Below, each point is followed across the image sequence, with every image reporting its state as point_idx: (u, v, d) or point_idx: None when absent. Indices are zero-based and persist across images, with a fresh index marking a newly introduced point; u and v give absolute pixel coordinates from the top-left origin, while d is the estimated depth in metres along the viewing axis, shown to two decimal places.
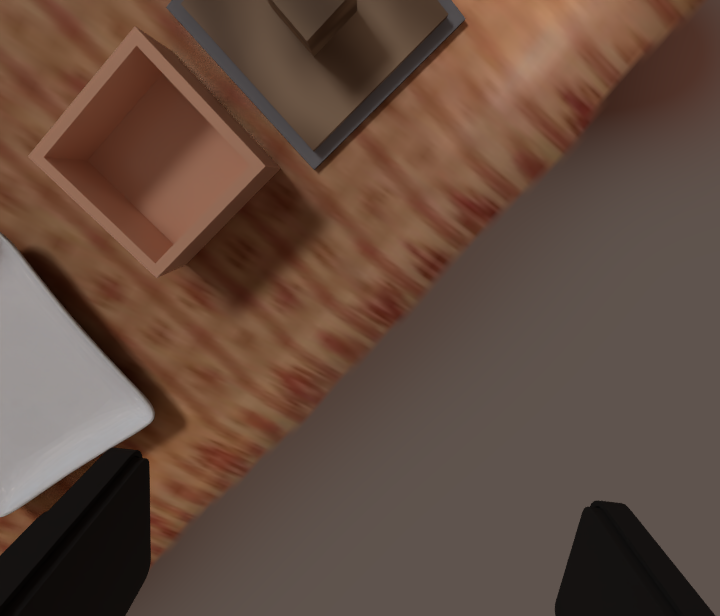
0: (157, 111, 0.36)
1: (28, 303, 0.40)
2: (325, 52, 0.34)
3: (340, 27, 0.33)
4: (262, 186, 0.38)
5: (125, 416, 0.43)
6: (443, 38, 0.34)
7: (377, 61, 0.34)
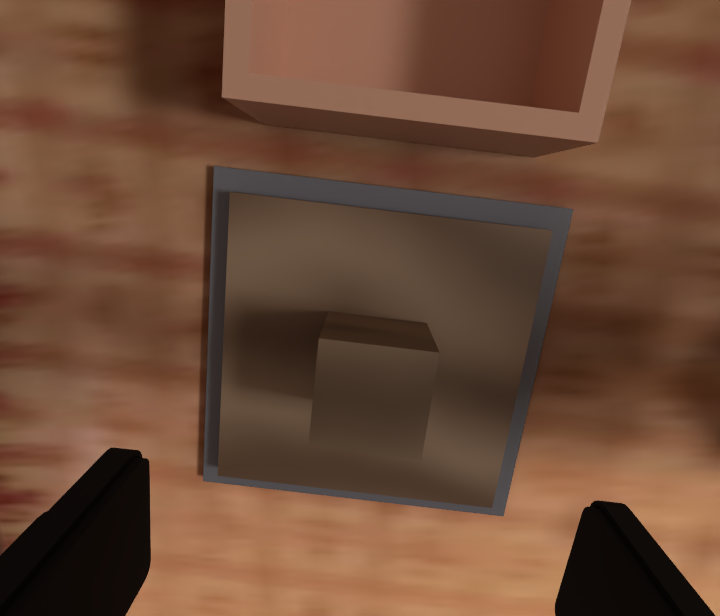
0: (503, 44, 0.18)
1: None
2: (318, 328, 0.21)
3: None
4: None
5: None
6: (206, 446, 0.23)
7: (248, 370, 0.21)
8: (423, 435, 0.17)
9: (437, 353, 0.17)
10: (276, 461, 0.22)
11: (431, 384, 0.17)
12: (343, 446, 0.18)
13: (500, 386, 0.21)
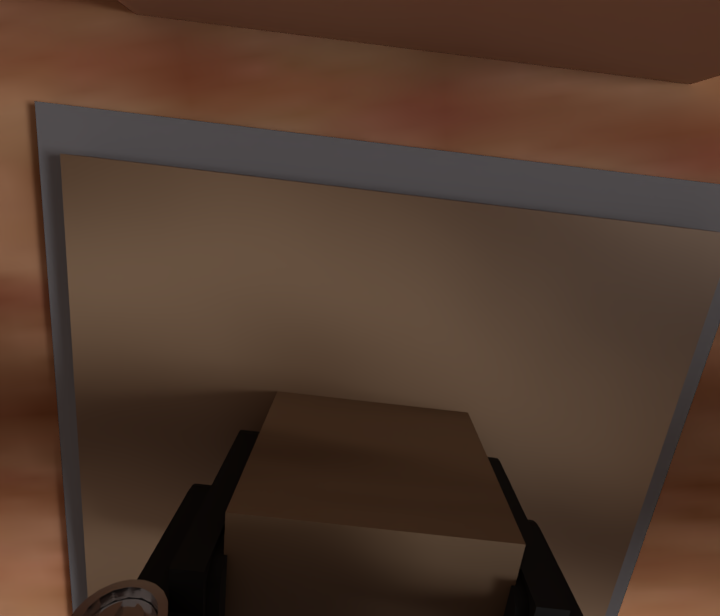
0: None
1: None
2: (259, 422, 0.11)
3: None
4: None
5: None
6: (76, 607, 0.13)
7: (130, 495, 0.11)
8: None
9: (520, 547, 0.07)
10: None
11: (502, 611, 0.07)
12: None
13: (601, 523, 0.11)
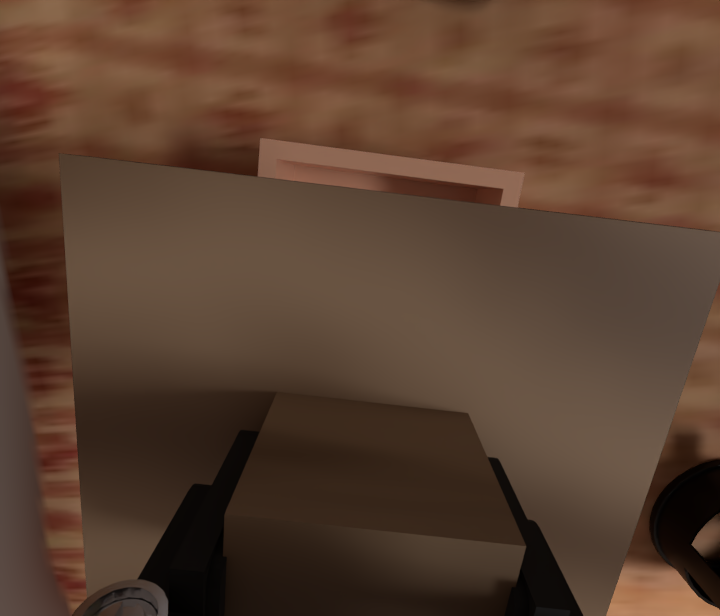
0: None
1: None
2: (258, 422, 0.11)
3: None
4: None
5: None
6: None
7: (129, 496, 0.11)
8: None
9: (521, 548, 0.07)
10: None
11: (502, 613, 0.07)
12: None
13: (602, 524, 0.11)
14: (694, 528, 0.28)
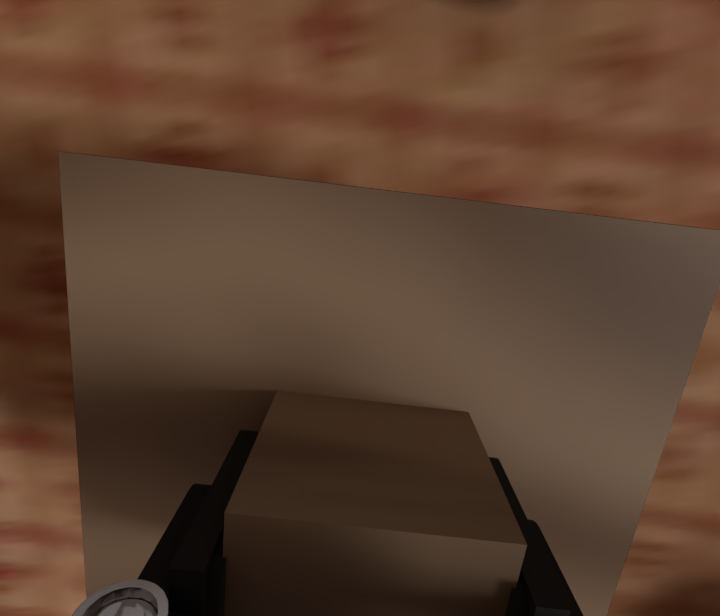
0: None
1: None
2: (258, 421, 0.11)
3: None
4: None
5: None
6: None
7: (129, 495, 0.11)
8: None
9: (522, 547, 0.07)
10: None
11: (503, 612, 0.07)
12: None
13: (603, 523, 0.11)
14: None
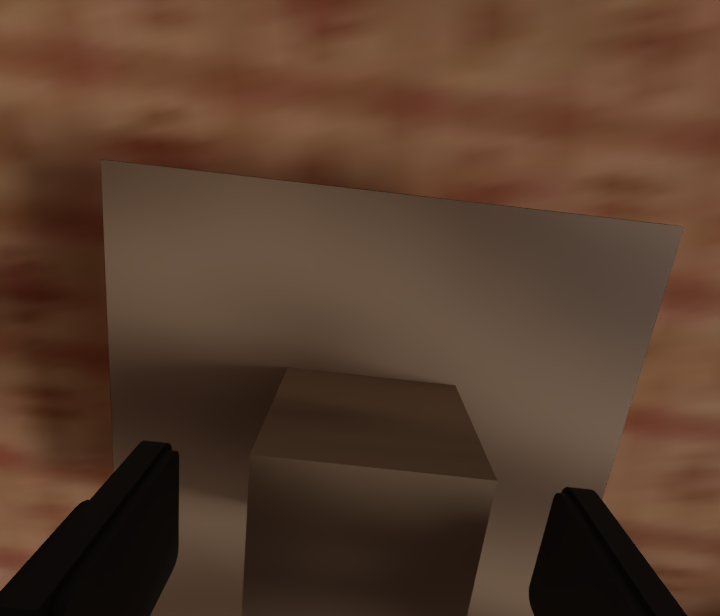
0: None
1: None
2: (271, 394, 0.12)
3: None
4: None
5: None
6: None
7: None
8: None
9: (493, 482, 0.08)
10: (211, 598, 0.14)
11: (479, 539, 0.08)
12: None
13: (575, 485, 0.13)
14: None
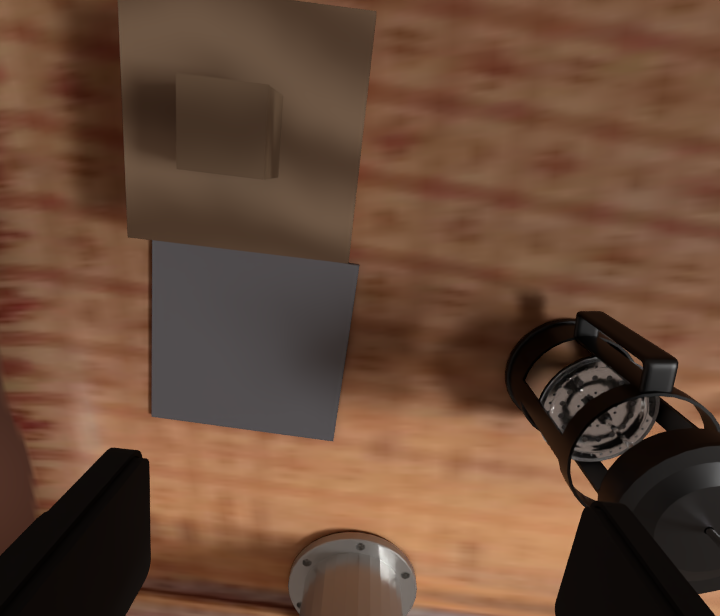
0: None
1: None
2: None
3: None
4: None
5: None
6: (152, 396, 0.39)
7: (144, 140, 0.27)
8: (263, 158, 0.23)
9: (266, 84, 0.22)
10: (173, 223, 0.28)
11: (264, 112, 0.22)
12: (203, 169, 0.23)
13: (346, 153, 0.27)
14: (527, 367, 0.34)
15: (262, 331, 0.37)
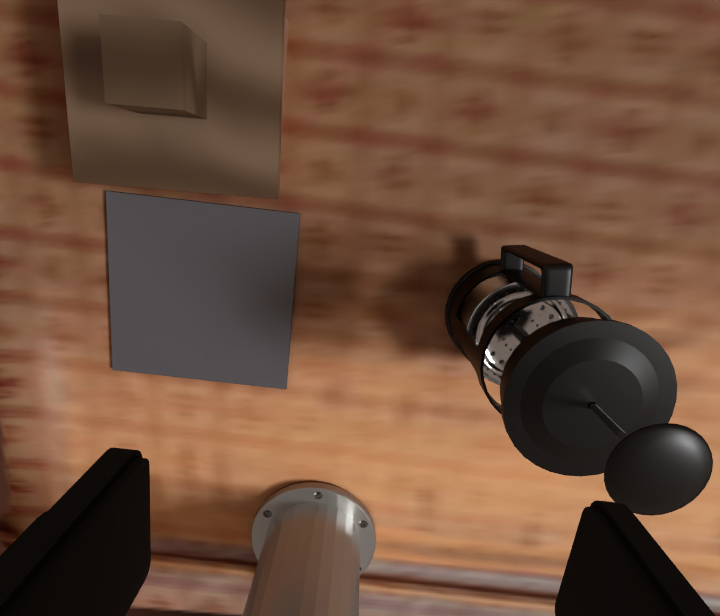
0: None
1: None
2: None
3: None
4: None
5: None
6: (112, 349, 0.41)
7: (84, 89, 0.29)
8: (181, 89, 0.26)
9: (179, 21, 0.25)
10: (114, 167, 0.31)
11: (179, 47, 0.25)
12: (128, 102, 0.26)
13: (267, 94, 0.29)
14: (459, 302, 0.36)
15: (212, 281, 0.39)
